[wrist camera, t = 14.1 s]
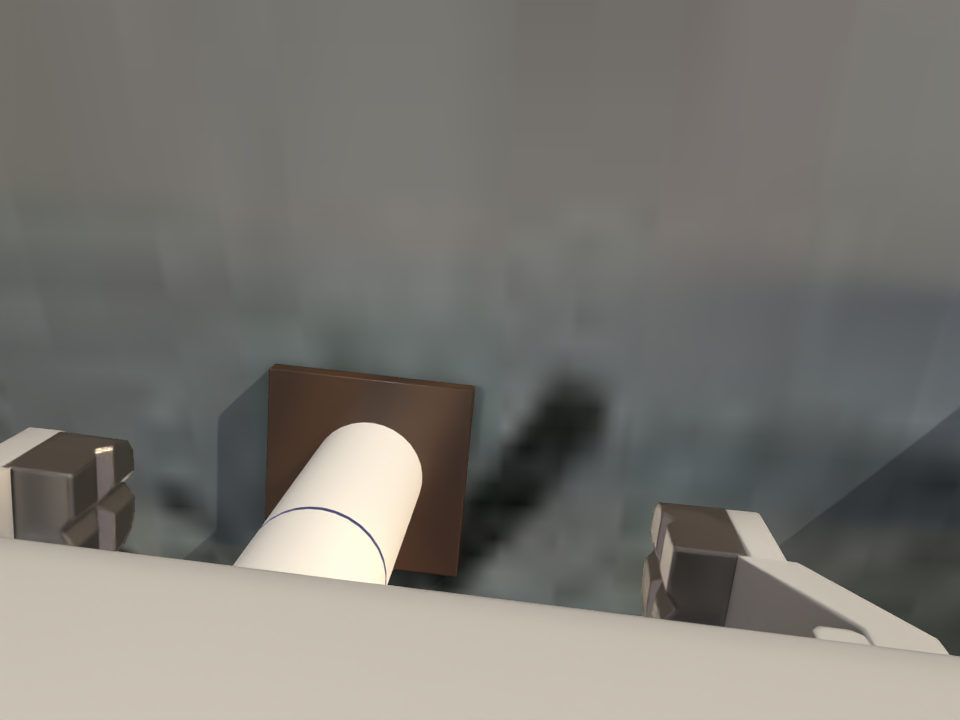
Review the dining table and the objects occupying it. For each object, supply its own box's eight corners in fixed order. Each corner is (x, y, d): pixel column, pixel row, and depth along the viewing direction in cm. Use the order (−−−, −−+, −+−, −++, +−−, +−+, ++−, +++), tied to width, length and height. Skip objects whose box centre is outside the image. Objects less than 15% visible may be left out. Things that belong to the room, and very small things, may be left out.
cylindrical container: (428, 432, 53) (331, 679, 29) (415, 533, 55) (313, 844, 31) (318, 414, 53) (130, 644, 29) (308, 515, 55) (124, 809, 31)
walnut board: (475, 385, 53) (473, 391, 52) (458, 568, 57) (456, 577, 56) (274, 363, 54) (269, 368, 53) (269, 545, 57) (264, 553, 56)
